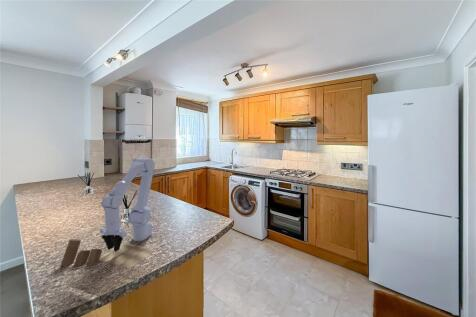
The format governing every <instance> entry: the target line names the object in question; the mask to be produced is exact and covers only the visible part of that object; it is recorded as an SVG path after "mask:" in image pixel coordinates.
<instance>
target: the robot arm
mask: <svg viewBox="0 0 476 317" xmlns="http://www.w3.org/2000/svg"><path fill="white" fill-rule="evenodd" d="M154 169H155V161H154V159H152V158H151V157H148V158H146V157H145V158H143V157H134V158H133V160H132V161H131V162H130V168H128V171H127V172H126V174H125V175H124V177H123V178H122V180H120V181H117V182H116V183H115V185H114V186H113V188H112V189H111V190H110V192H109V193H108V194H107V195H104V196H103V198H102V199H101V202H100V204H101V207H102V208H103V211H104V225H105V227H101V228H99V232H100V234H102V235H101V238H102V240H103V241H104V243H105V245H106V248H107V250H108V251H111V250H112V249H113V250H114V251H115V252H116V251H118V250H119V249H120V246H121V245H122V241H123V240H124V238H127V236H128V235H127V233H128V232H127V231H125V230H123V229H122V228H121V222H120V219H121V218H120V215H121V214H120V207H121V206H122V205H123V199H124V197H125V195H126V193H127V191H128V190H129V189H130V184H131V182H132V181H133V180H134V179H135V177H136V176H137V175H138V173H139V174H140V175H141V178H140V184H139V189H138V193H137V199H136V204H135V205H134V206H133V207H131V208H130V209H131V210H130V213H129V215H128V221H129V222H130V224H131V225H132V226H131V227H132V240H133V241H134V242H141V241H145V240H146V239H147V238H149V237H151V236H153V226H152V225H153V224H152V222H151V221H150V220H151V209H150V207H148V203H149V198H150V191H151V187H152V181H153V175H154V171H155V170H154Z"/></svg>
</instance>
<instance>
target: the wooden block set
mask: <svg viewBox="0 0 476 317" xmlns="http://www.w3.org/2000/svg"><path fill="white" fill-rule="evenodd" d="M81 242H82V240H81V239H76V238H75V239H74V238H72V239H71V238H70V239H69V241H68V243H67V247H66V249H65V252H64V255H63V258H62V260H61V263H60V266H61V267H69V266H71V265H72V264H73V263H74V266H79V267H80V266H82V265H84V264H85V263H86V264H87V265H90V266H93V265H95V264H97V263H98V262H100V261H99V259H100V256H102V252H103V249H101V248H92V249H91V250H90V249H83V250H81V251H79V252H78V250H79V248H80V245H81Z"/></svg>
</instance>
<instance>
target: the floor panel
mask: <svg viewBox="0 0 476 317" xmlns="http://www.w3.org/2000/svg"><path fill="white" fill-rule="evenodd" d="M157 251H158V250H157V249H153V248H149V247H144V246H140V245H137V246H136V247H134V248H132V249H130V250H129V251H127V252H125V253H123V254H122V255H120V256H118V257H116V258H115V259H113V260H111V261H109V262H108V263H107V264H110V265H113V266H116V267H120V268H123V269H127V270H130V269H131V268H133V267H134V266H136V265H137V264H139V263H140V262H142V261H143V260H145V259H146V258H148V257H149V256H150V255H153V254H154V253H155V252H157Z"/></svg>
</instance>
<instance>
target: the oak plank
mask: <svg viewBox="0 0 476 317" xmlns="http://www.w3.org/2000/svg"><path fill="white" fill-rule="evenodd" d="M136 246H138V245H136V244H132V243H129V242H125V243H124V244H121V245H120V249H119V250H118V251H116V252H115V251H114V249H113V250H112V249H111V250H109V251H108V252H106V253H104V254H103V255H102V254H101V256H100V259H99V261H98V262H102V263H107V264H109V263H108V262H110V261H112V260H114V259H115V258H117V257H119V256H121V255H122V254H124V253H126V252H128V251H129V250H131V249H133V248H134V247H136Z"/></svg>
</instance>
